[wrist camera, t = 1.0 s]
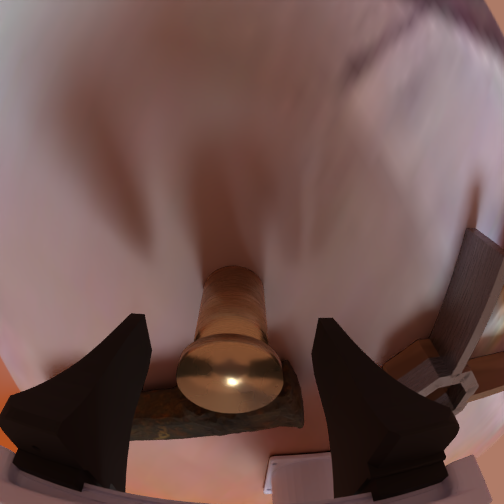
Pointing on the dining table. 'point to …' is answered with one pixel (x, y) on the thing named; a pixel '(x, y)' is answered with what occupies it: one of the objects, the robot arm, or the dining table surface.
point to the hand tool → (213, 414)
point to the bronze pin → (231, 347)
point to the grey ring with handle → (461, 322)
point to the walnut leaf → (484, 368)
